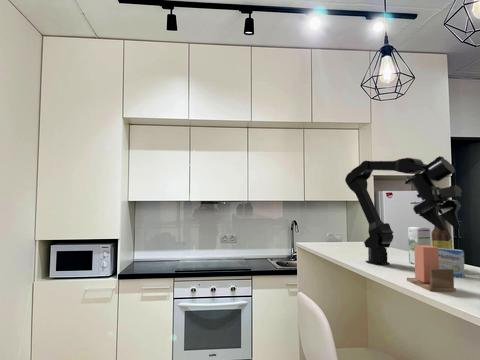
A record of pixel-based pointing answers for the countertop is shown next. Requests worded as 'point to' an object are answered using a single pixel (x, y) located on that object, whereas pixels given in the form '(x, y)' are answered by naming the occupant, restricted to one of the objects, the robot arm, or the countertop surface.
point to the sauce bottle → (441, 237)
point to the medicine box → (452, 261)
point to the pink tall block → (425, 261)
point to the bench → (437, 280)
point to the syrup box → (417, 240)
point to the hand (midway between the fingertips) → (451, 229)
